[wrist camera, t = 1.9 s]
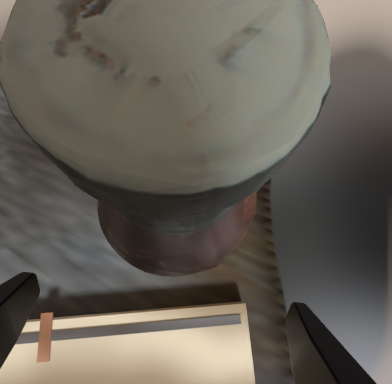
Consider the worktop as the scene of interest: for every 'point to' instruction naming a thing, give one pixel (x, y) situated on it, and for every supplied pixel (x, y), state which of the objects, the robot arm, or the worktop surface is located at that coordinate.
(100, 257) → the worktop surface
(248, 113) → the sauce bottle
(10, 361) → the birch board
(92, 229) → the worktop surface
